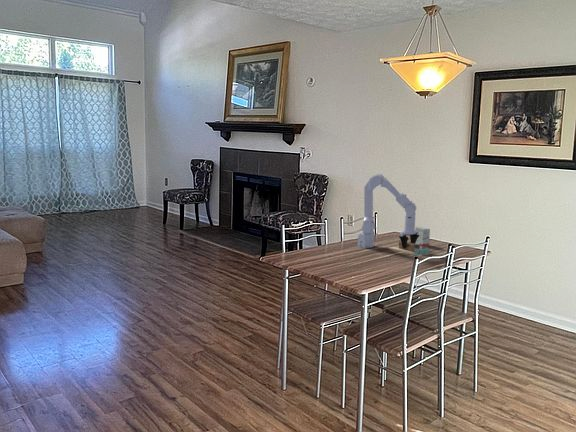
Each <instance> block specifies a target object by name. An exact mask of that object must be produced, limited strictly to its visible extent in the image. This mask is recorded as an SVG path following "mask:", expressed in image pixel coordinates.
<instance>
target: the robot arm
mask: <svg viewBox="0 0 576 432" xmlns="http://www.w3.org/2000/svg"><path fill="white" fill-rule="evenodd" d="M368 179H369V180H368V181H367V182H366V184H365V186H364V189H363V190H364V191H363V194H364V197H363V199H364V201H363V202H364V204H363V205H364V208H363V209H364V212H363V214H364V217H363V222H362V226H361V233H360V234H358V237H357V247H359V248H363V249H367V248H373V247H375V231H374V229H375V228H376V223H375V221H374V220H375V219H374V214H373V213H374V206H373V205H374V190H375V189H376V188H377V187H378V186H380V187H382V188H386V189H387V190H388V191H389V193H391V194H392V195H393V196H394V197H395V201H396V202H397V203H398V204H399V206H401V207H402V209H404V211H405V217H404V229H403V231H401V232H399V235H398V238H399V240H400V242H401V243H402V247H403V248H406V246H407V242H409V241H408V240H410V243H414V244H415V243H416V240H417V238H418V237H419V235H417V234H419V231H418V230H415V227H416V211H417V205H416V204H415V202H413V201H412V200H410V199H409V197H407V196H408V195H407V194H405V193H403V192H402V193H401V192H399V190H397V189H396V187H395V186H394V185H393V184H392V183H391V182H390V181H389V180H388V178H387V177H385V176H384V175H383V174H382V173H376V174H375V175H372V176H371V177H370V178H368Z"/></svg>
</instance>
